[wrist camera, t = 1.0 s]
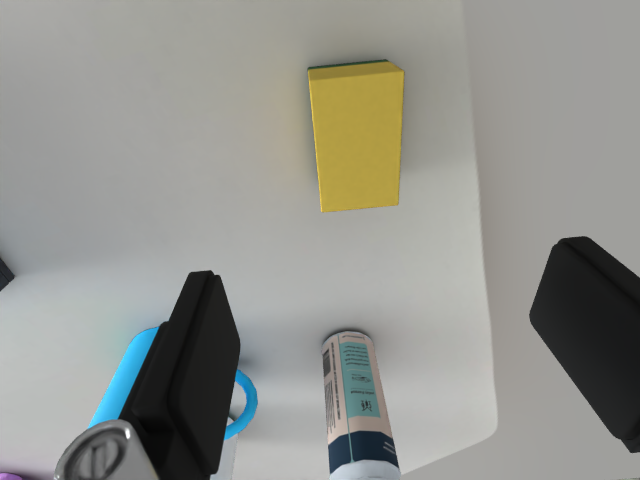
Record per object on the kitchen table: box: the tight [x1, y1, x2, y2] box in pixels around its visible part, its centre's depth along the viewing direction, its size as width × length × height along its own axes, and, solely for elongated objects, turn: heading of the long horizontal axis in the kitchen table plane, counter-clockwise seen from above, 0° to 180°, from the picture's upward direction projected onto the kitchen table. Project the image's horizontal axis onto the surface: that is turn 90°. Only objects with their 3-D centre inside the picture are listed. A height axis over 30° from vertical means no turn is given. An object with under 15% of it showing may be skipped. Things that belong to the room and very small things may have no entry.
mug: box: [88, 327, 258, 440], centre depth 29 cm, size 12×8×8 cm
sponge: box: [308, 60, 404, 212], centre depth 20 cm, size 7×4×4 cm, turn 5°
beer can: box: [322, 331, 401, 480], centre depth 27 cm, size 5×5×12 cm
